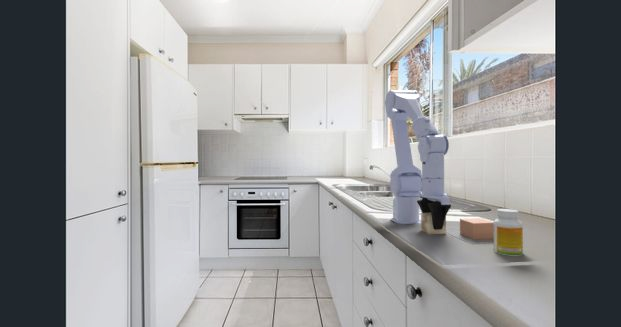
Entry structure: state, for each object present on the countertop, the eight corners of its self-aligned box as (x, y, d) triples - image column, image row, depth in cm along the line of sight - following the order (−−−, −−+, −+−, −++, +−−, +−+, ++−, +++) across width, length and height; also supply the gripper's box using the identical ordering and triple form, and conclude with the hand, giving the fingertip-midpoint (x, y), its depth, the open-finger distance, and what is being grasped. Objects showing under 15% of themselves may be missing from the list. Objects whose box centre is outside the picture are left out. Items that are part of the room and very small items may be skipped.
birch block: (421, 230, 91) (421, 213, 90) (437, 229, 91) (437, 212, 91) (428, 234, 86) (428, 216, 86) (446, 233, 86) (445, 215, 86)
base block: (460, 233, 86) (459, 218, 86) (481, 233, 86) (481, 218, 86) (473, 239, 80) (473, 223, 80) (495, 238, 80) (495, 222, 80)
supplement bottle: (528, 258, 66) (528, 212, 66) (502, 258, 66) (502, 212, 66) (512, 251, 72) (512, 208, 71) (488, 251, 72) (488, 208, 72)
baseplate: (442, 232, 90) (441, 230, 90) (482, 231, 91) (482, 229, 91) (471, 246, 76) (471, 243, 76) (518, 244, 77) (518, 242, 77)
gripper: (461, 179, 81) (461, 232, 81) (434, 176, 96) (434, 221, 96) (434, 180, 81) (435, 233, 81) (411, 176, 95) (412, 222, 95)
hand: (433, 227), depth 88 cm, fingers closed on birch block, 5 cm apart
